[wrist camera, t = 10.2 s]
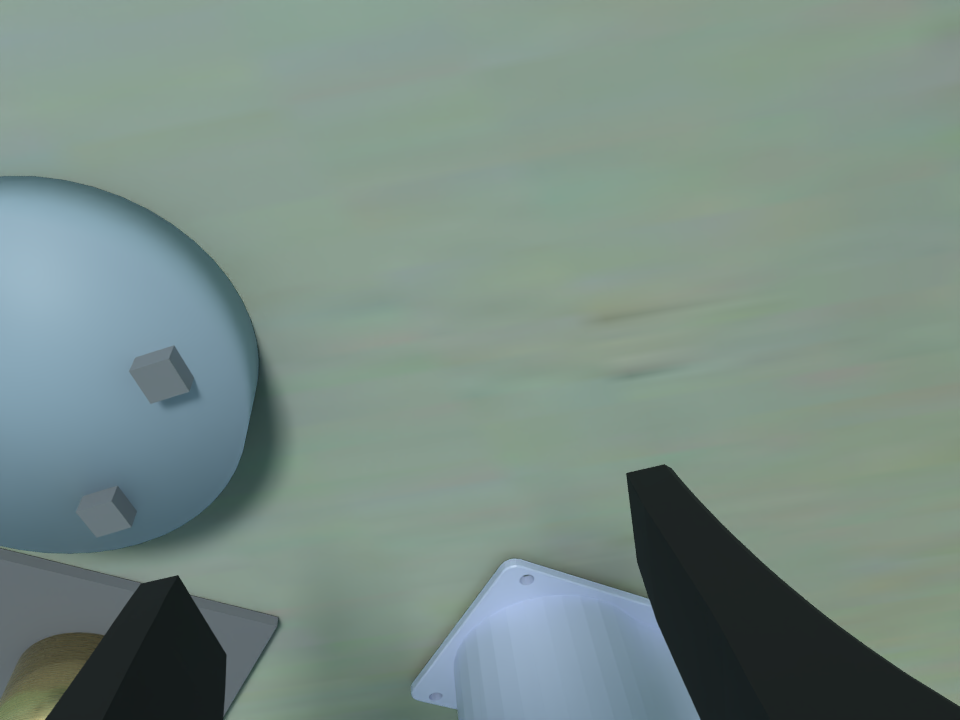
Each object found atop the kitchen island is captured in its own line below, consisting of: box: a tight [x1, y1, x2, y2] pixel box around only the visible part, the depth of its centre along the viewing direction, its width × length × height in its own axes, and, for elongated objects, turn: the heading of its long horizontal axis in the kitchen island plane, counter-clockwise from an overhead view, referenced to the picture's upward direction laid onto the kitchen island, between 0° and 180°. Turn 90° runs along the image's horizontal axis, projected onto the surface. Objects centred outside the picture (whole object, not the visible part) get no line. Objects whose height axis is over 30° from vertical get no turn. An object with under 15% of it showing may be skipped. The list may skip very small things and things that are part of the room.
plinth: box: [0, 176, 259, 554], centre depth 20 cm, size 10×10×3 cm
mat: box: [0, 548, 278, 717], centre depth 28 cm, size 10×10×1 cm
